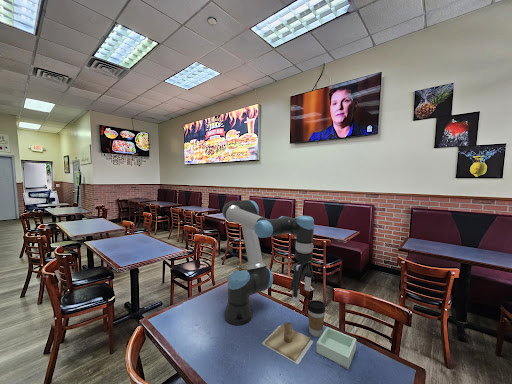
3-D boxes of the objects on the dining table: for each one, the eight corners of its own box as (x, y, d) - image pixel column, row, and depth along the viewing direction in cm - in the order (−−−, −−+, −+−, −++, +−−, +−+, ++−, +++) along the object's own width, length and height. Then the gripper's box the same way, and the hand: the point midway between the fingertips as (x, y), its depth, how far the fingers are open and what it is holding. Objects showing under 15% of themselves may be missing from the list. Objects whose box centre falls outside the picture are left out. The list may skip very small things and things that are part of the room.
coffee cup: (325, 340, 100) (326, 309, 100) (306, 338, 102) (307, 307, 101) (323, 328, 108) (324, 299, 108) (306, 326, 110) (307, 297, 109)
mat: (261, 344, 97) (261, 343, 97) (279, 326, 110) (279, 325, 110) (298, 365, 86) (298, 364, 86) (313, 342, 99) (313, 341, 99)
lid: (264, 344, 97) (265, 326, 96) (281, 326, 109) (282, 311, 108) (295, 361, 88) (295, 342, 87) (310, 340, 100) (310, 323, 99)
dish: (316, 353, 93) (316, 342, 92) (326, 336, 103) (327, 326, 103) (348, 370, 85) (348, 357, 84) (356, 349, 95) (356, 338, 95)
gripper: (300, 261, 84) (298, 313, 85) (321, 245, 105) (319, 288, 106) (283, 256, 88) (281, 306, 90) (306, 242, 109) (304, 283, 110)
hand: (301, 296), depth 98 cm, fingers open, 13 cm apart
